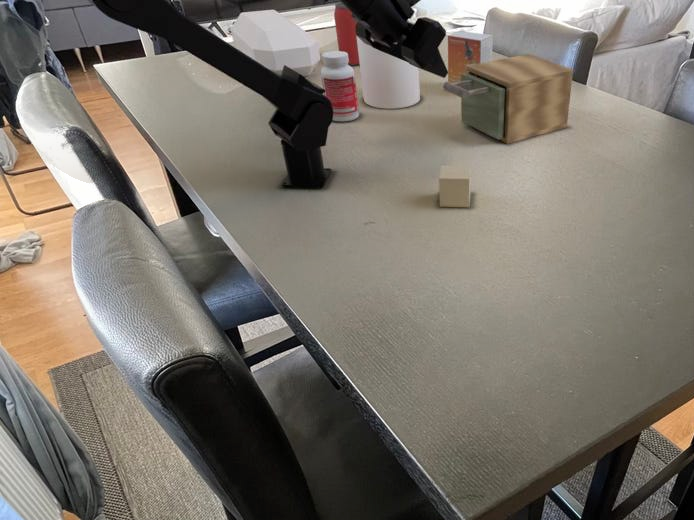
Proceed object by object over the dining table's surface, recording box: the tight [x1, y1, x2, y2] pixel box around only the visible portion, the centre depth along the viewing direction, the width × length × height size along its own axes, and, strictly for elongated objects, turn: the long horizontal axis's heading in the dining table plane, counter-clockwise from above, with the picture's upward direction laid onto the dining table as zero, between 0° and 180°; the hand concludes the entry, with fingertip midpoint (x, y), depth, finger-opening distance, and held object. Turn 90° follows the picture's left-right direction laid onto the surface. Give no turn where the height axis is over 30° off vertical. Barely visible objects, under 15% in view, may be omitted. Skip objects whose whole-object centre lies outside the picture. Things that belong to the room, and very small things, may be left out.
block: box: [438, 165, 471, 208], centre depth 87 cm, size 4×4×4 cm
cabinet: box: [467, 53, 574, 145], centre depth 109 cm, size 15×13×10 cm
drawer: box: [442, 73, 507, 141], centre depth 106 cm, size 19×11×8 cm, turn 126°
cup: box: [357, 36, 421, 110], centre depth 118 cm, size 12×12×12 cm
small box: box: [447, 30, 494, 87], centre depth 124 cm, size 8×6×10 cm
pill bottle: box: [320, 50, 360, 122], centre depth 111 cm, size 6×6×11 cm
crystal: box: [230, 9, 321, 77], centre depth 135 cm, size 14×10×28 cm
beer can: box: [333, 2, 360, 66], centre depth 138 cm, size 7×7×12 cm
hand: (432, 69), depth 95 cm, fingers open, 8 cm apart
